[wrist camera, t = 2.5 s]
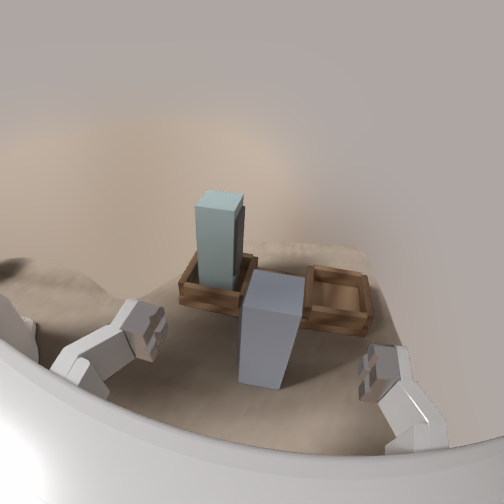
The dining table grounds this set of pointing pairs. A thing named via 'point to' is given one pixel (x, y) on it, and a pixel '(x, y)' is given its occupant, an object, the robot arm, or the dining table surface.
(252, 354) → the block
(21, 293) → the dining table surface
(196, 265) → the wooden double tray
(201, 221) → the teal rectangular block
